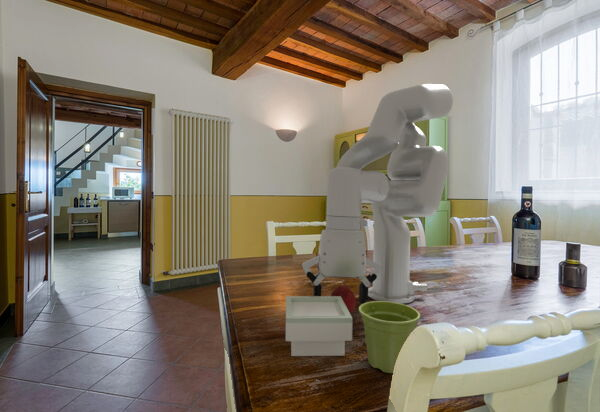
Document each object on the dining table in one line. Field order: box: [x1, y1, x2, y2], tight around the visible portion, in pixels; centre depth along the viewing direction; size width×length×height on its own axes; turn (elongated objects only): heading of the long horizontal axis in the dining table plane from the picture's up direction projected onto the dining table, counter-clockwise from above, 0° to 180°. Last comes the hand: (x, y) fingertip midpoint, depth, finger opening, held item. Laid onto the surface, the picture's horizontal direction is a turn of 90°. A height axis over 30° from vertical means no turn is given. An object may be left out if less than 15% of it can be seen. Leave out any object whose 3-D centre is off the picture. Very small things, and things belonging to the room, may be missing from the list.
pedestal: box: [285, 295, 353, 357], centre depth 55 cm, size 11×11×7 cm
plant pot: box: [358, 300, 421, 374], centre depth 48 cm, size 9×9×9 cm
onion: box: [330, 282, 357, 315], centre depth 66 cm, size 6×6×8 cm
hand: (340, 302), depth 66 cm, fingers open, 9 cm apart
